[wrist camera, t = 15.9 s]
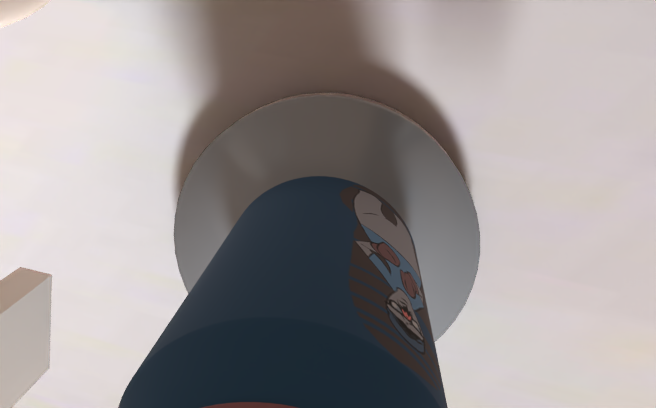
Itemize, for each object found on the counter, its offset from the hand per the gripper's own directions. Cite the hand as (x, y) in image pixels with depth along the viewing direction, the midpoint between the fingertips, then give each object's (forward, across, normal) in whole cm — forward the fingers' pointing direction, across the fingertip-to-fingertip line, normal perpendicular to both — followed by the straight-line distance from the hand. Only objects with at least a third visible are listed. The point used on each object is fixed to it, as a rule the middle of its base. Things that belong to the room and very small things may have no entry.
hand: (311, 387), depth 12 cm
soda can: (+8, 0, 0) cm, 8 cm away
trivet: (+10, 0, 0) cm, 10 cm away
